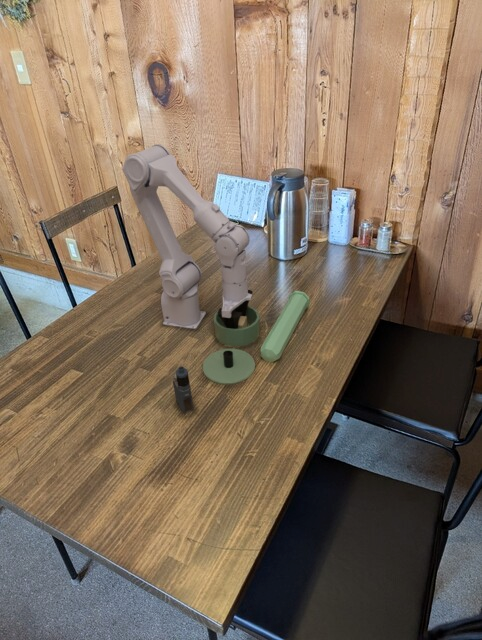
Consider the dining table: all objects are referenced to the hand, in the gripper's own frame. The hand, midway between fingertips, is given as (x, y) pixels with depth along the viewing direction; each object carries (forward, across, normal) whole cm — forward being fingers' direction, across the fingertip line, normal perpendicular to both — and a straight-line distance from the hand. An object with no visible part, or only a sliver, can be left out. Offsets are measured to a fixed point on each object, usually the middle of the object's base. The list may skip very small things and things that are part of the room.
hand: (237, 325), depth 112 cm
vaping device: (+3, -27, +3) cm, 27 cm away
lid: (+2, -13, -2) cm, 13 cm away
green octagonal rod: (+3, +3, -12) cm, 12 cm away
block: (+2, 0, 0) cm, 2 cm away
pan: (+3, 0, 0) cm, 3 cm away
